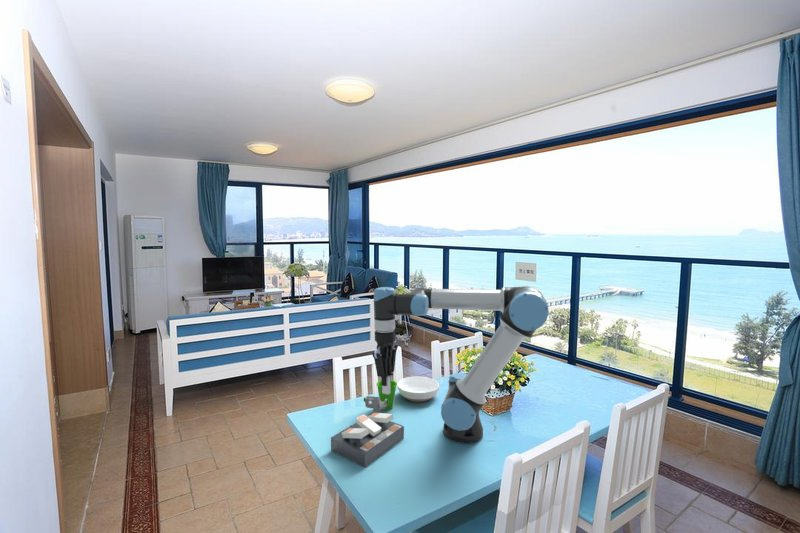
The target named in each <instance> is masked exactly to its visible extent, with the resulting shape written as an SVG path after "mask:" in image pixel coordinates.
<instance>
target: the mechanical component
mask: <svg viewBox="0 0 800 533" xmlns="http://www.w3.org/2000/svg"><path fill="white" fill-rule="evenodd" d="M363 402H364V404H365V408H367V409H373V410H372V412H373V413H380V410H383V409H385V408H386V406H387V404H389V400H387V399H385V401H384V402H382V401H381V400H380V398H379V396H371V395H366V397H363ZM382 405H385V406H382Z"/></svg>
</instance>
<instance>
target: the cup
mask: <svg viewBox="0 0 800 533" xmlns="http://www.w3.org/2000/svg"><path fill="white" fill-rule="evenodd" d="M397 384H398V382H397V381H396V380H392V379H391V382H390V389H391V393H390V394H384V393H382V379H381V380H379V381H377V382H376V386H377V392H378V397H379V398H380V400H381V401H382V402H384V401H385V399H387V400H389V404H387V406H386V408H385V409H382V410H383V411H391V410H392V409H393V406H394V402H395V395H396V390H397V389H396V388H397V387H398V386H397ZM382 406H385V405H382Z"/></svg>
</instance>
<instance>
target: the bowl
mask: <svg viewBox="0 0 800 533" xmlns="http://www.w3.org/2000/svg"><path fill="white" fill-rule="evenodd" d="M396 387H397V390H398V393H399V394H400V395H401V396H402V397H403V398H404V399H406V400H409V401H411V402H415V403H422V402H426V401H429V400H431V399H433V398H434V397H435V396H437V394H438V393H439V392H438V391H440V390H439V388H440V384H439V382H438V381H437V380H436V379H433V378H430V377H427V376H421V375H420V376H415V375H414V376H407V377H403V378H401V379H399V380H398V382H397V386H396Z"/></svg>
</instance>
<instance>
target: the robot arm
mask: <svg viewBox="0 0 800 533" xmlns="http://www.w3.org/2000/svg"><path fill="white" fill-rule="evenodd" d="M372 302H373V311H374V312H373V314H374V330H375V331H374V341H375V342H376V344H377V345H376V351H375V352H372V357H373V359H374V366H375V369H376V370H375V371H376V375H377V377H380V378H381V380H382V393H384V394H390V393H391V389H390V382H391V380H392V379H391V376H392V377H393V376H394V372H395V368H396V366H395V365H396V358H397V357H396V356H397V350H398V345H397V344H395V343H394V342H395V341H396V330H395V329H396V315H397V316H398V315H399V316H400V315H401V316H414V317H415V316H416V317H418V316H419V317H420V316H422V317H423V316H426V315H427V314H428V311H429V309H433V310H434V309H435V310H439V309H440V310H466V311H468V310H469V311H470V310H471V311H494V312H495V311H496V312H497V311H499V312H501V315H500V316H499V320H500V325H499V326H498V328H497V329H496V330H495V332H494V333H493V335H492V336H491V338H490V339H489V341H488V343H487V344H486V345H485V347H484V348H483V350H482V351H481V353H480V354H479V355H478V357H477V358H476V360H475V362H474V363H473V365H472V366H471V368H470V369H469V371H468V372H467V373H465V372H456V373H452V374H450V375H449V377H448V381H447V382H448V390H447V392H446V394H445V397H444V399H443V402H442V404H441V410H440V414H441V415H440V416H441V418H442V420H443V422H444V423H443V428H442V429H443V431H442V433H443V435H444V436H445V438H447V439H448V440H450V441H452V442H455V443H459V444H473V443H477V442H480V440H482V439H483V436H484V428H483V425H482V420H481V418H480V411H481V409H482V408H483V407H484V405H485V403H486V402H487V400H486V399H487V398H486V394H487V392H488V391H489V389H490V388H491V386H493V384H494V382H495V381H496V379H497V378H498V376H499V375H500V374H501V372H502V371H503V370H504V368H505V367H506V365H507V364H508V362H509V361H510V359H512V356H513V355H514V353H515V352H516V351H517V349H518V348H519V347H520V345H521V344H522V342H523V341H524V340H527V339H531V338H532V337H533V335H534V334H535V332H536V331H537V330H538V329H540V328H541V327H543V325H544V324H545V323H546V321H547V320H548V317H549V311H550V310H549V304H548V302H547V300H546V299H545V297H544V295H543V294H542V293H541V291H540V290H539V289H537V288H535V287H532V286H528V285H527V286H526V285H525V286H510V287H509V286H506V287H505V286H502V287H501V289H471V288H470V289H469V288H468V289H466V288H465V289H463V288H460V289H459V288H458V289H457V288H455V289H453V288H452V289H451V288H426V287H424V286H422V287H416V288H414V289H413V290H412V291H411V292H409V293H396V291H395V288H393V287H389V286H381V287H376V288H375V289H374V290H373V301H372Z"/></svg>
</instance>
